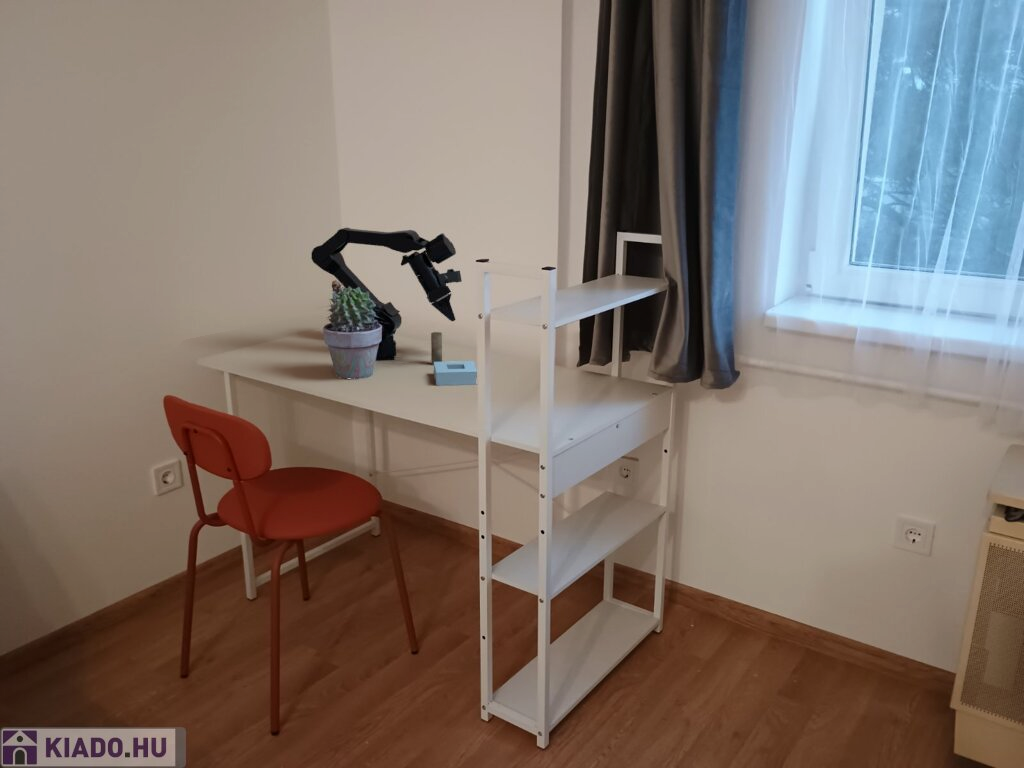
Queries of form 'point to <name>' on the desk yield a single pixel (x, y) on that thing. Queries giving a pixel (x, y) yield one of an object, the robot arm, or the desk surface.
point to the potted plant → (352, 332)
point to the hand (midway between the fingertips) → (453, 320)
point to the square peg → (436, 347)
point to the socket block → (455, 373)
